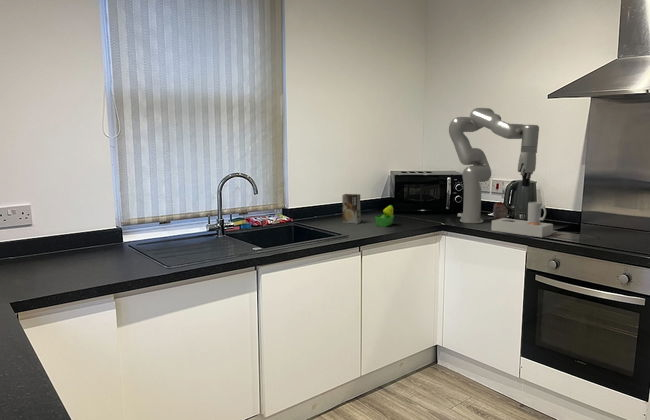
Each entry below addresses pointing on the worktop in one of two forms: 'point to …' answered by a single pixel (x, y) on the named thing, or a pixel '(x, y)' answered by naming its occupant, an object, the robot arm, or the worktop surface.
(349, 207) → the coffee box
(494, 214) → the food item
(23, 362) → the worktop surface
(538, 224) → the terracotta button
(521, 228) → the button panel
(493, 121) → the robot arm
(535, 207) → the mug
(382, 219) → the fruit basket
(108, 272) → the worktop surface
